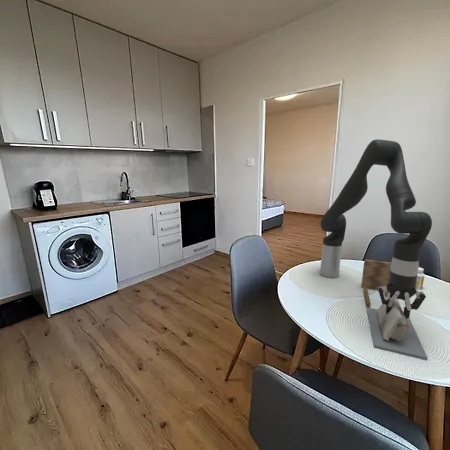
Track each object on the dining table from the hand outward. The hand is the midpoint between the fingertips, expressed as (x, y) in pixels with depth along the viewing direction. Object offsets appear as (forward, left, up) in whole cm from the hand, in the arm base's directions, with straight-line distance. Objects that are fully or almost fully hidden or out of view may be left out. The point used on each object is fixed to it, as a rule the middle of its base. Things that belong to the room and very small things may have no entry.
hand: (396, 316), depth 87 cm
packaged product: (-3, 0, -6) cm, 6 cm away
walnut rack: (-3, +21, -6) cm, 22 cm away
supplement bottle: (+15, +42, -6) cm, 45 cm away
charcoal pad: (-1, 0, -6) cm, 6 cm away
